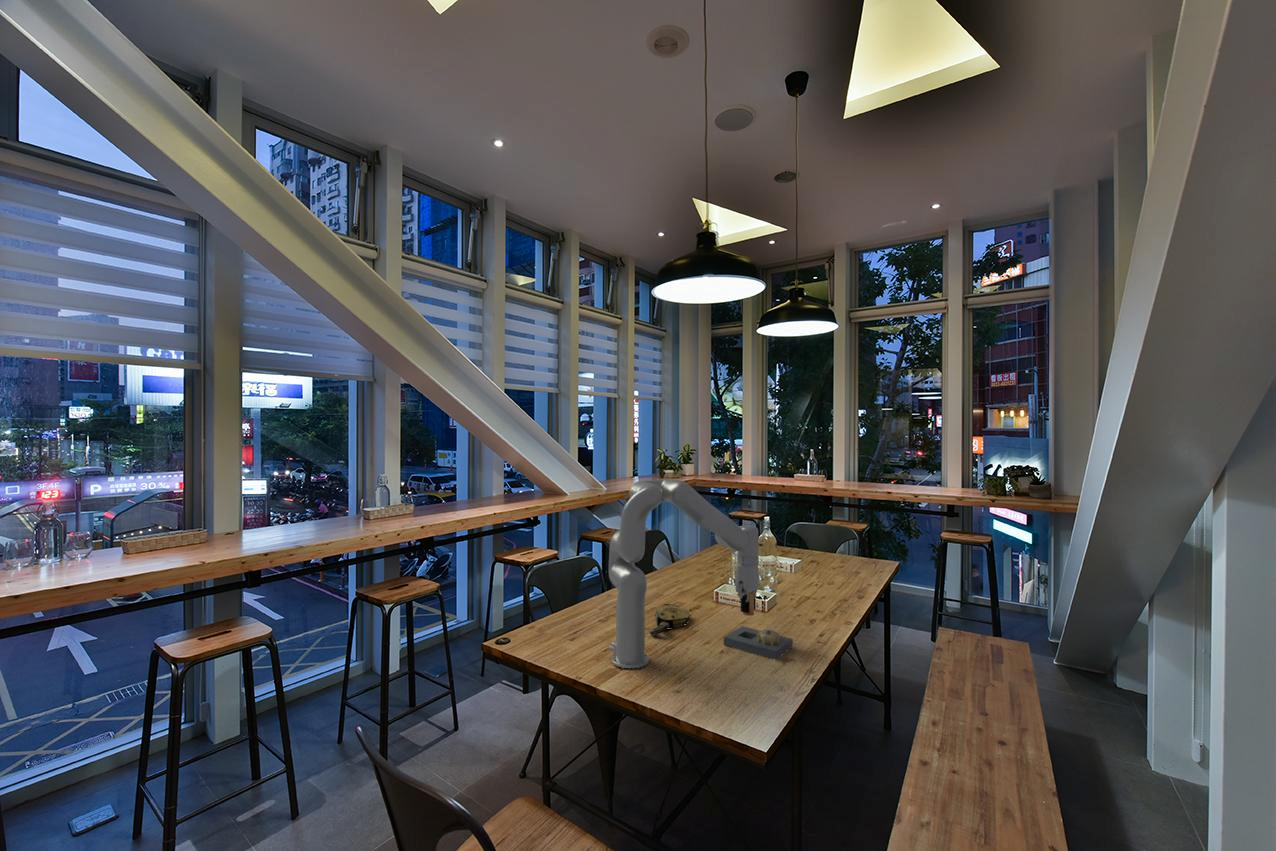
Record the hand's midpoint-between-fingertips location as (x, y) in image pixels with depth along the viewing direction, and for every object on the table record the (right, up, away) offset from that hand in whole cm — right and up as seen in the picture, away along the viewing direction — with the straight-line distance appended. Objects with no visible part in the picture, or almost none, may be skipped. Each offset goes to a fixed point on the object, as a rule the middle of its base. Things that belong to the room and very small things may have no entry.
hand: (748, 610), depth 195 cm
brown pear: (0, -1, 0) cm, 1 cm away
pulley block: (-28, -13, +18) cm, 36 cm away
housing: (+3, -12, -3) cm, 13 cm away
